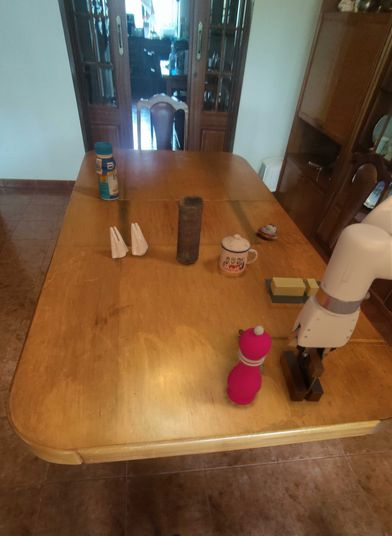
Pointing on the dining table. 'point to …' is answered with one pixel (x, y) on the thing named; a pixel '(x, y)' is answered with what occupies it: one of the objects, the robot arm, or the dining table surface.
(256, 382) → the pepper mill
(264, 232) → the pastry
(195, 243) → the candle
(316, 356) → the dark brown flat block
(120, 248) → the shaker set
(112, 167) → the beverage bottle
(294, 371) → the dark wooden bar pair
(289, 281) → the butter
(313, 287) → the butter slice
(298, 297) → the slate board
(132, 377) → the dining table surface
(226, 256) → the teacup with lid
